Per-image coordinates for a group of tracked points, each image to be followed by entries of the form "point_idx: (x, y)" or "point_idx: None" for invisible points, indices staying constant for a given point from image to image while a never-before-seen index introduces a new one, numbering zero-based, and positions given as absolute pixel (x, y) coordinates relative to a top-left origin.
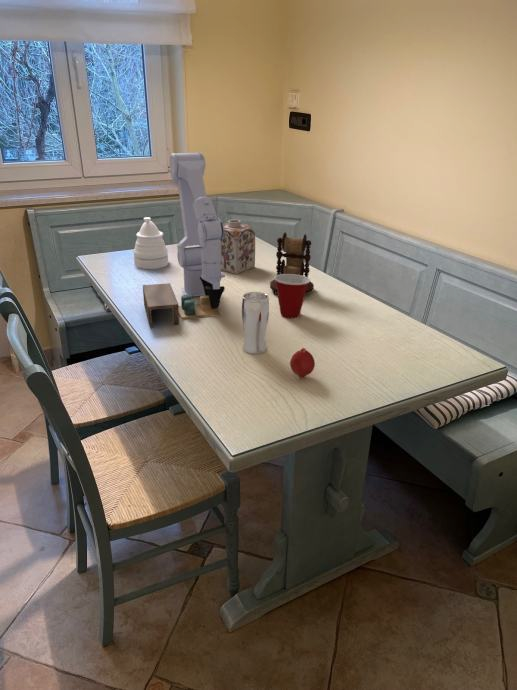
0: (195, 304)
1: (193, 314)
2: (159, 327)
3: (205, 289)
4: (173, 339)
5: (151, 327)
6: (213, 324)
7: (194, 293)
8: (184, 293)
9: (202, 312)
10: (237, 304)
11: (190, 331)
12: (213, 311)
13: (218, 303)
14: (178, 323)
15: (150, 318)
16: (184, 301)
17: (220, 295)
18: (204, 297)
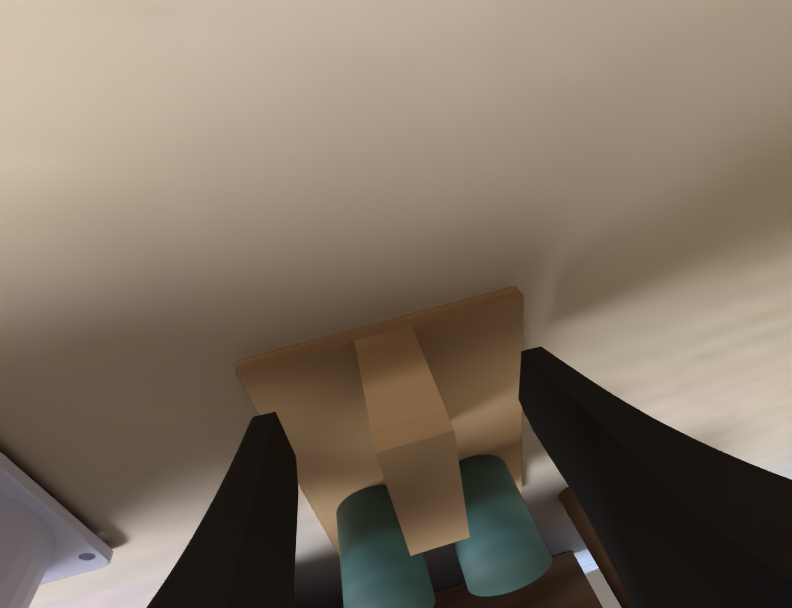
0: (301, 481)
1: (503, 461)
2: None
3: (291, 591)
4: None
5: (572, 553)
6: (666, 327)
7: (42, 542)
8: (45, 581)
9: (472, 420)
10: (203, 74)
11: (688, 426)
12: (469, 353)
13: (582, 382)
14: None
15: (600, 605)
16: (496, 594)
17: (716, 459)
18: (451, 524)
